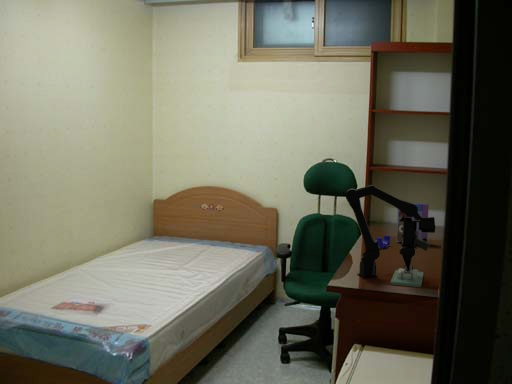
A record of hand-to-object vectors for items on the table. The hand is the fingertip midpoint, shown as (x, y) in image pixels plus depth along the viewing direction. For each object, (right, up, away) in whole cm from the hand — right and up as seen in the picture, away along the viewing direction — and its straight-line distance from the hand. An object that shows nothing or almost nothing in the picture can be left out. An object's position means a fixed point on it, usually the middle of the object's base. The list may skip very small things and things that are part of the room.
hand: (408, 267), depth 231 cm
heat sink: (-1, -3, -2) cm, 4 cm away
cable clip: (+8, +1, +77) cm, 78 cm away
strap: (-1, -1, -2) cm, 3 cm away
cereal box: (+28, +2, +92) cm, 97 cm away
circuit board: (-1, -5, -2) cm, 5 cm away
